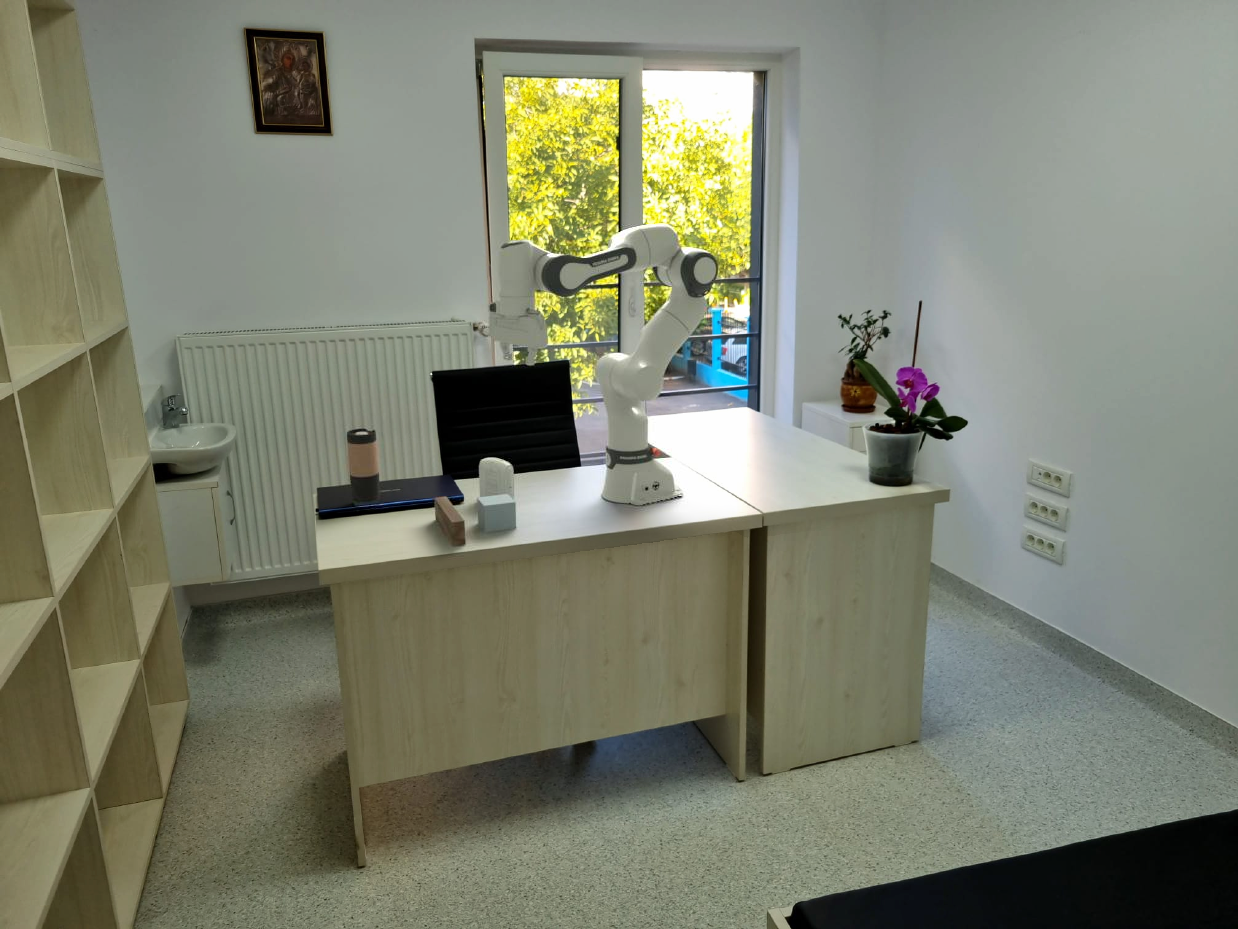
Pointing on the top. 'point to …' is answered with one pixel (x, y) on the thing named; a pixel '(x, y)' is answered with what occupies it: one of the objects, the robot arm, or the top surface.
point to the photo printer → (496, 477)
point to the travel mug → (363, 465)
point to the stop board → (450, 521)
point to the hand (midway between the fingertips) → (518, 362)
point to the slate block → (496, 512)
